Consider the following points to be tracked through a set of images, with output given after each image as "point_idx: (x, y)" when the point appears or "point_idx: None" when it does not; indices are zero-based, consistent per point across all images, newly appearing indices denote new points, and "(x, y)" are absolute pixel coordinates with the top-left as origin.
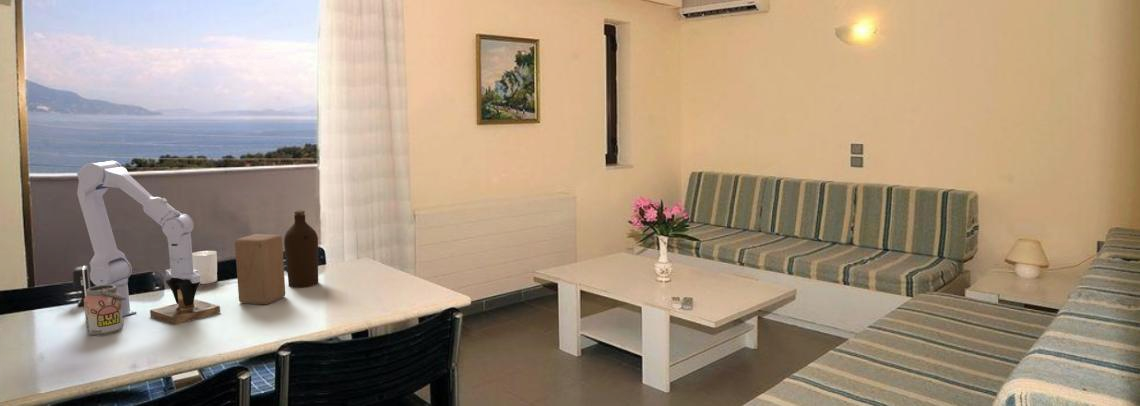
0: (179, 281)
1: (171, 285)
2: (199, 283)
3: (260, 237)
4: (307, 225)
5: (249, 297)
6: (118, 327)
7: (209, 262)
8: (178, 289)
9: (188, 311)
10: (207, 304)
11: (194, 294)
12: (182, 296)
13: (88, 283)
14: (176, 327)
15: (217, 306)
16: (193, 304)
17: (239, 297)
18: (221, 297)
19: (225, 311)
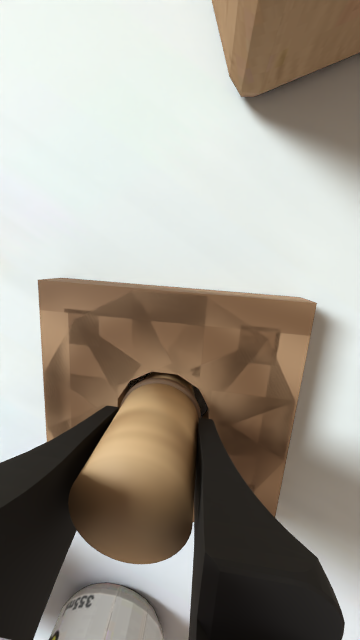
0: (14, 593)
1: (38, 621)
2: (316, 560)
3: None
4: None
5: (358, 29)
6: (158, 637)
7: None
8: (98, 543)
9: (241, 449)
10: (210, 318)
11: (230, 464)
12: (195, 527)
13: None
14: (307, 521)
15: (312, 317)
16: (190, 398)
17: (255, 75)
18: (13, 83)
19: (305, 267)
